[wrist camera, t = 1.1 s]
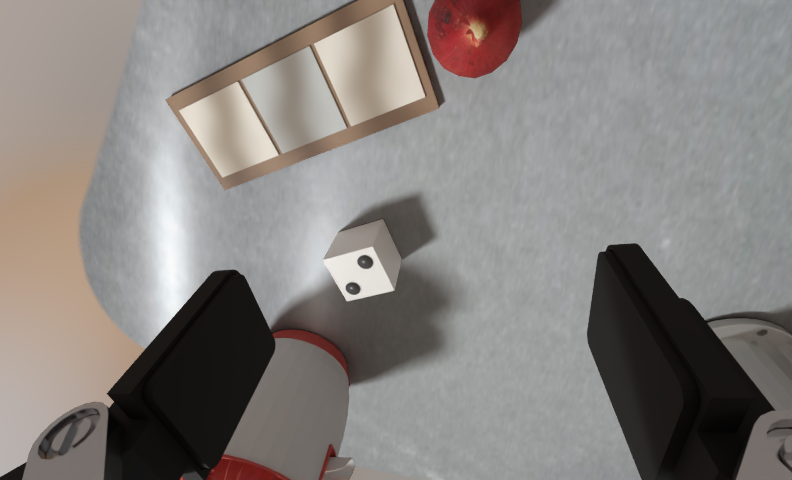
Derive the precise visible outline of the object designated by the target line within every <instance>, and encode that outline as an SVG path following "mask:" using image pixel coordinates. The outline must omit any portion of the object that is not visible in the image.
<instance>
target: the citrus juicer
mask: <svg viewBox="0 0 792 480" xmlns="http://www.w3.org/2000/svg"><path fill="white" fill-rule="evenodd" d="M272 335H273V337H274V339H275V343H276V347H275V352H274V354H273V356H272V358H271V360H270V362H269V364H268V366H267V368H266V370H265V372H264V374H263V376H262V378H261V380H260V382H259V384H258V386H257V388H256V390H255V392H254V394H253V396H252V398H251V400H250V402H249V404H248V406H247V408H246V410H245V412H244V414H243V416H242V418H241V420H240V422H239V424H238V426H237V428H236V430H235V432H234V434H233V436H232V438H231V440H230V442H229V444H228V446H227V448H226V450H225V452H224V454H223V456H222V458H221V460H220V462H219V463H218V465H217V466H216V467H214V468H212V470H211V472H210V473H209V475H208V477H207V479H206V480H349V479H350V477H351V476H352V474H353V471H354V467H355V462H354V459H353V458H343V457H338V454H339V450H340V446H341V443H342V439H343V435H344V430H345V426H346V421H347V415H348V405H349V385H350V383H349V375H348V368H347V363H346V361H345V358H344V357H343V355H342V354H341V352H340V351H339V350H338V349H337V348H336V347H335V346H334V345H333V344H332V343H330V342H329V341H327V340H326V339H324V338H322V337H320V336H318V335H316V334H313V333H310V332H306V331H302V330H293V329H292V330H282V331H278V332H275V333H273V334H272ZM180 480H185V479H184V478H183V477H181V479H180Z"/></svg>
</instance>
